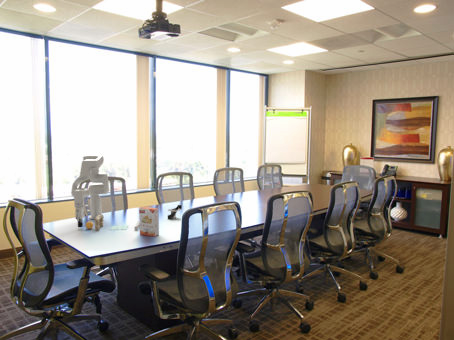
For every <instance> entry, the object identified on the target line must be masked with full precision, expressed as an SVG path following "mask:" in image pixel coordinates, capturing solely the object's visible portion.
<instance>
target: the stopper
mask: <svg viewBox="0 0 454 340" xmlns="http://www.w3.org/2000/svg"><path fill="white" fill-rule="evenodd" d="M139 229H140V220H138V221H137V222H136V224H135V226H134V230H135V231H138V230H139Z"/></svg>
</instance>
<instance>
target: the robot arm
mask: <svg viewBox="0 0 454 340" xmlns="http://www.w3.org/2000/svg"><path fill="white" fill-rule="evenodd" d="M103 163H104V156H103V155H101V154H85V155H84V156H82V161H81V166H80V172H79V176H78V177H77V178H76V179H75V180H74V182H72V186H71V190H70V191H71V197H73V203H74V208H75V212H74V213H75V220H76V222H77V228H82V227H83V219H84V218H85V217H86V215H85V212H86V211H85V198H88V197H90V198H89V199H90V201H89V202H90V216H88V218H89V219H90V220H95V218H96V217H97V216H98V215H103V213H102V212H103V211H102V197H101V196H100V195H108V193H110V185H109V176H108V173H106V172H100V170H99V169H100V168H101V166H102V165H103ZM88 180H89V181H90V182H91V183H92V184H90V185H89V186H88V188H85V187H83V188H82V187H78V186H79V185H80V184H81V183H83V182H85V181H88ZM103 218H104V215H103Z"/></svg>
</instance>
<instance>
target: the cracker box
mask: <svg viewBox="0 0 454 340" xmlns="http://www.w3.org/2000/svg"><path fill="white" fill-rule="evenodd" d="M159 213H160V212H159V208H157V207H147V206H143V207H142V206H141V207H139V210H138V214H139V216H138V217H139V221H140V226H139V235H141V236H148V237H156V236H159V235H160V231H159V230H160V225H159V222H160V221H159V220H160V218H159Z"/></svg>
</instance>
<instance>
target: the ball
mask: <svg viewBox="0 0 454 340" xmlns="http://www.w3.org/2000/svg"><path fill="white" fill-rule="evenodd" d="M93 227H94V222H93V221H87V222H86V223H85V228H86V229H88V230H89V229H90V230H91V229H93Z"/></svg>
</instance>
